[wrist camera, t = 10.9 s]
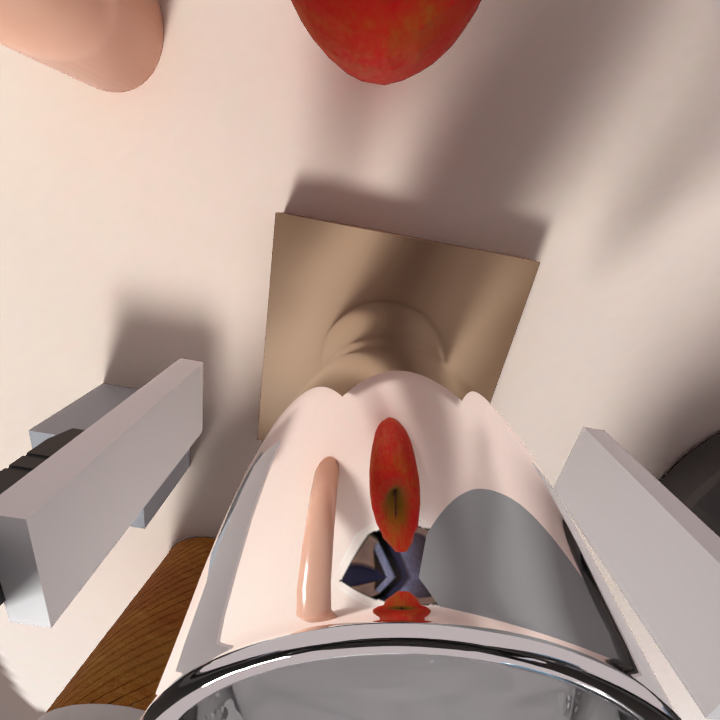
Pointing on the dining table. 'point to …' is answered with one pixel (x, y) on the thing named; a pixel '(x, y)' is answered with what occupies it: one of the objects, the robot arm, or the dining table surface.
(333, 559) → the steel tumbler
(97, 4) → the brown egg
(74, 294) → the dining table surface
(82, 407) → the slate block
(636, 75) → the dining table surface
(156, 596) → the disposable coffee cup
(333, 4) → the apple
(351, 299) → the walnut board
